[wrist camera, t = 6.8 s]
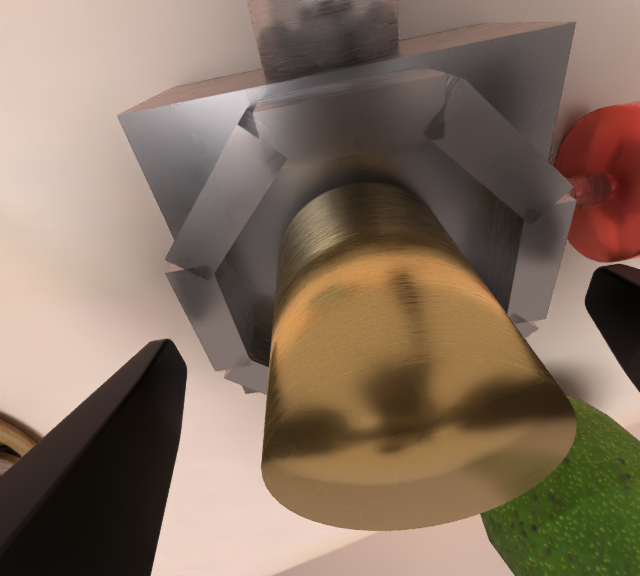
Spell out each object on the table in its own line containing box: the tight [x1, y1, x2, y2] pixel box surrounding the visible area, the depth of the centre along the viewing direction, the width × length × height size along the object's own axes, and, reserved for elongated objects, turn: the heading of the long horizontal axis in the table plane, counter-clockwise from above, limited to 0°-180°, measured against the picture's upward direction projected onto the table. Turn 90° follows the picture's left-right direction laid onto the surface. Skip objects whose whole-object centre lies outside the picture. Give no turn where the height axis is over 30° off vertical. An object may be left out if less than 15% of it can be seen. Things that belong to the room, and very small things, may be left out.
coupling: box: [261, 182, 577, 531], centre depth 7 cm, size 4×4×6 cm
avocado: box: [480, 395, 640, 576], centre depth 16 cm, size 8×8×12 cm
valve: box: [117, 0, 640, 394], centre depth 11 cm, size 13×14×6 cm
